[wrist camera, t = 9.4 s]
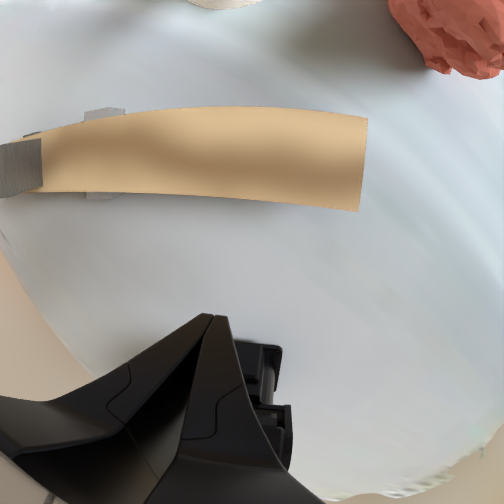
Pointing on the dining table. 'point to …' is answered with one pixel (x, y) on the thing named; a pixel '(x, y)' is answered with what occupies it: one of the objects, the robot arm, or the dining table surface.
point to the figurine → (223, 3)
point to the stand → (92, 116)
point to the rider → (20, 167)
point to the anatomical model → (455, 34)
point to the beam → (212, 155)
